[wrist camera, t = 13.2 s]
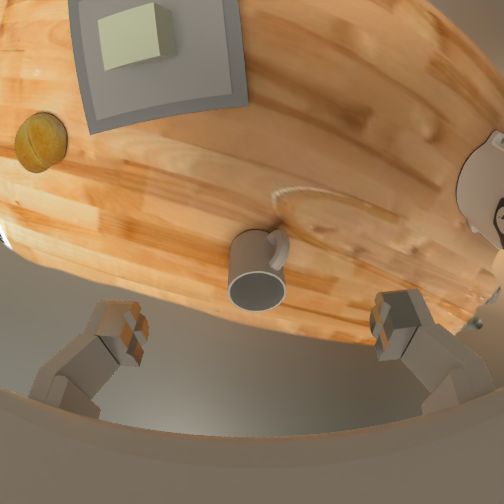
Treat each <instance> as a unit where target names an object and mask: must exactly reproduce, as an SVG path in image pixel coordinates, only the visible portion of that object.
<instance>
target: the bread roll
mask: <svg viewBox="0 0 504 504" xmlns="http://www.w3.org/2000/svg"><path fill="white" fill-rule="evenodd" d="M65 151H66V131H65V128H64V127H63V125H62V124H61V122H60V121H59V120H58V119H57V118H55V117H54V116H52V115H50V114H47V113H40V114H35V115H33V116H31V117H30V118H29V119H28V120H26V121H25V122H24V123H23V124H22V125H21V127H20V128H19V130H18V132H17V134H16V137H15V153H16V156H17V158H18V160H19V162H20V163H21V165H22V166H23V167H24V168H25V169H26V170H28V171H30V172H32V173H40V172H43V171H45V170H47V169H48V168H49V167H50V166H51V165H55V164H58V163H60V162H61V161H62V160H63V158H64V156H65Z"/></svg>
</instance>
